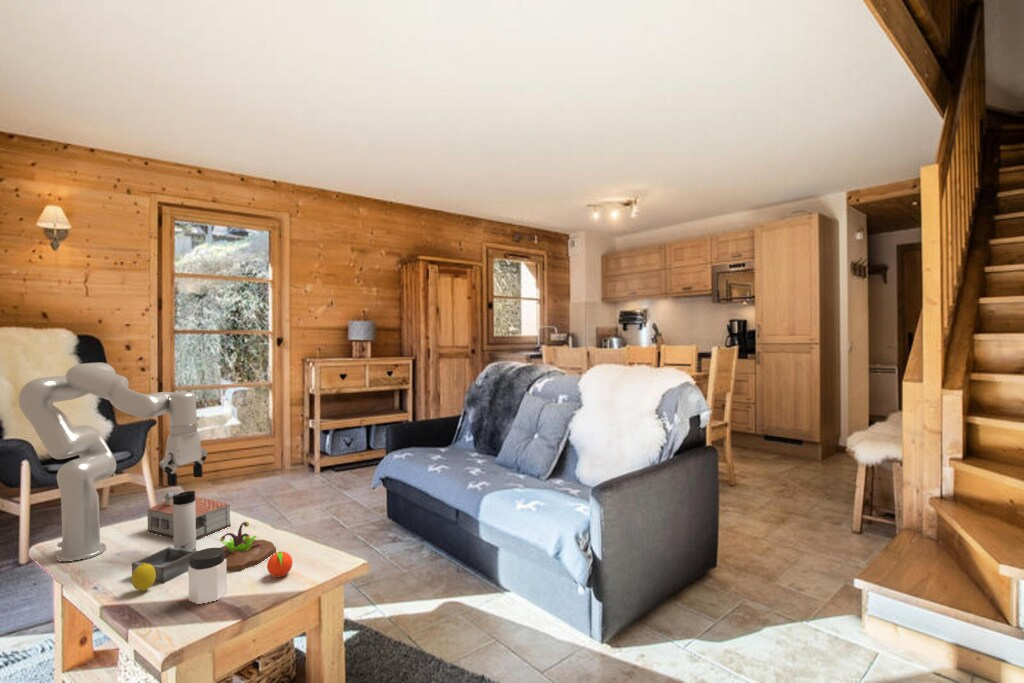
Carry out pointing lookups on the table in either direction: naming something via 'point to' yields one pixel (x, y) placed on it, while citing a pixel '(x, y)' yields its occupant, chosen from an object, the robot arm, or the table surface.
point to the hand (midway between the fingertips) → (185, 481)
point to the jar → (207, 575)
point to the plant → (245, 550)
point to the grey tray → (167, 563)
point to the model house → (207, 517)
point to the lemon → (143, 577)
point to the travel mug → (184, 520)
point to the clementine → (279, 564)
